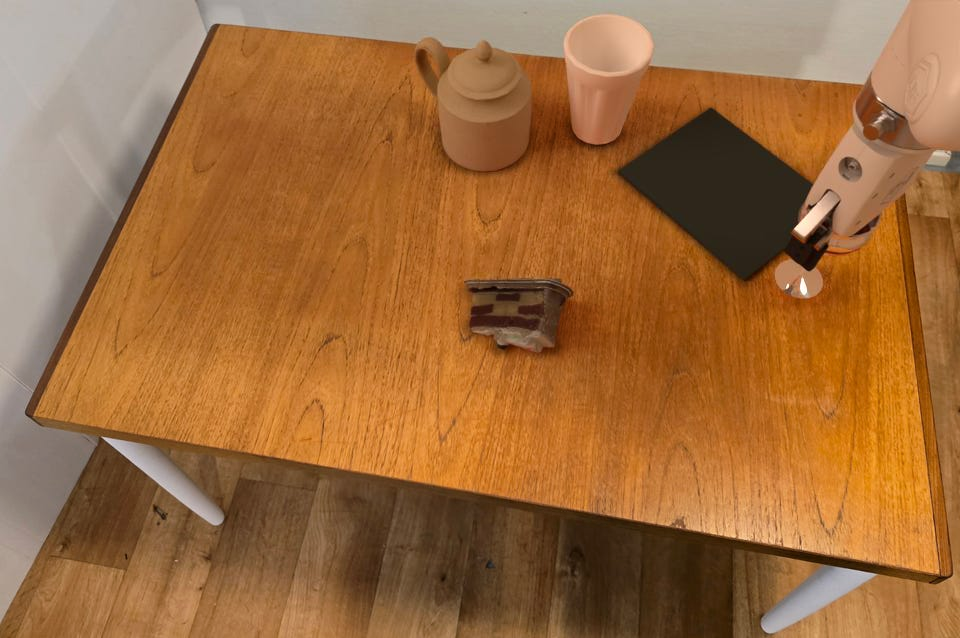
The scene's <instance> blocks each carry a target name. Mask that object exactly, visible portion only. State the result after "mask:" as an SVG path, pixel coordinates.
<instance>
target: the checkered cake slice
mask: <svg viewBox="0 0 960 638" xmlns="http://www.w3.org/2000/svg"><path fill="white" fill-rule="evenodd" d="M462 283H463V284H465V288H466V290H467V292H469V293H471V294H472V298H471V302H472V306H471V308H470V314H469V318H470V319H469V324H468V325H469V329H470V330H471V331H472V333H476V334H479V335H485V336H487V337H490V336H493V340H494V341H496V343H497V348H498V349H499V350H506V348H508V346H509V345H513V346H515V347H519V348H521V349H524V350H527V351H530V352H534V353H537V354H538V353H541V352H542V351H543V348H554V347H555V346H556V340H557V331H558V329H559V322H560V317H561V311H562V308H563V307H564V304H565V303H566V302H567V300H568V299H569V298H571V297H573V296H574V292H575V291H574V290H573V289H572V287H570V286H569V285H567V284H565V283H564V282H562V279H561V278H558V277H556V278H553V277H548V278H547V277H546V278H531V277H527V278H524V277H523V278H522V277H521V278H518V277H517V278H489V279H480V278H474V279H470V278H468V279H465V280H463V281H462Z"/></svg>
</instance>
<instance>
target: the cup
mask: <svg viewBox="0 0 960 638" xmlns="http://www.w3.org/2000/svg"><path fill="white" fill-rule="evenodd" d="M654 43H655V42H654V40H653V36H652V34H651V33H650V32H649V31H648V30H647V29H646V28H645V27H644V26H643V25H642V24H641V23H640V22H638V21H636V20H634V19H632V18H629V17H627V16H622V15H617V14H613V13H606V14H593V15H590V16H588V17H586V18H583V19H581V20H578V21H577V22H576V23H575V24H574V25H573V26H571V27H570V28H569V29H568V30H567V31H566V34H565V37H564V40H563V57H564V61H565V66H566V67H565V68H566V79H567V89H568V99H569V100H568V101H569V111H570V112H569V113H570V121H571V123H570V124H571V129H572V132H573V134H574V135H575V136H576V138H578V139H579V140H581V141H583V142H584V143H586V144H591V145H595V146H597V145H605V144H608V143H611V142H613V141H615V140H617V138H618V137H619V136H620V135H621V133H622V129H623V127H624V124H625V123H626V119H627V117H628V114H629V112H630V109H631V107H632V104H633V102H634V99H635V96H636V94H637V91H638V88H639V86H640V83H641V81H642V78H643V77H644V75H645V73H646V72H648V69H649V66H650V64H651V61H652V58H653V55H654V52H655V47H656V46H655V44H654Z"/></svg>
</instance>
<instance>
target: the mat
mask: <svg viewBox="0 0 960 638" xmlns="http://www.w3.org/2000/svg"><path fill="white" fill-rule="evenodd" d="M617 174H619V176H621V178H623V180H625V181H626V182H628V184H630V185H631V186H632V187H633V188H635V189H636V190H637V191H638V192H639V193H640V194H641V195H642V196H644V198H646V199H647V200H648V201H650V202H651V203H652V204H653V205H654V206H656V207H657V208H658V209H659V210H660V211H662V213H664V214H665V215H666V216H667V217H668V218H669V219H671V220H672V221H673V222H674V223H676V224H677V226H679V227H680V228H681V229H682V230H684V232H686V233H687V234H688V235H689V236H690V237H692V239H694V240H695V241H696V242H697V243H699V244H700V245H701V246H702V247H703V248H705V249H706V250H707V251H708V252H709V253H710V254H711V255H713V256H714V257H715V258H716V259H718V261H720V263H722V264H723V265H724V266H726V267H727V268H728V269H729V270H730V271H731V272H733V273H734V274H735V275H736V276H737V277H738V278H739V279H741V280H742V281H743V282H745V281H746V280H748V279H749V278H751V277H752V276H753V275H755V273H757V272H758V271H759V270H761V269H763V267H764V266H766V265H767V264H768V263H769V262H771V261H772V260H773V259H775V258H776V257H778V255H780V254H781V253H783V252H784V250H785V248H786V246H787V244H788V243H789V241H790V239H791V237H792V236H793V235H792V234H791V232H792V231H793V229H794V228H795V227H796V226H797V215H798V212H799V210H800V208H801V206H802V204H803V203H804V202H805V201H806V199H807V196H808V194H809V192H810V190H811V188H812V186H813V185H814V183H813V182H811V181H809V179H807V178H805V177H804V175H802V174H800V173H799V172H798V171H796V170H795V169H794V168H793V167H791V166H790V165H788V164H787V163H785V161H783V160H782V159H780V158H779V157H778V156H776V154H774V153H772V152H771V151H770V150H768V149H767V148H766V147H765V146H763V145H762V144H761V143H759V142H758V141H757V140H755V139H754V138H752V137H751V136H750V135H748V133H746V132H744V131H743V130H742V129H741V128H740V127H738V126H736V125H735V124H734V123H732V122H731V121H730V120H728V119H727V118H726V117H725V116H724V115H722V114H720V113H719V112H718V111H717V110H715V109H714V108H713V107H709V108H708V109H706V110H705V111H703V112H702V113H700V114H699V115H697V116H695V118H693V119H691V120H690V121H688V122H687V123H686V124H683V126H680V128H677V130H675V131H674V132H672V133H671V134H670V135H668V136H666V137H665V138H663V139H662V140H660V141H659V142H657V143H656V144H655V145H653V146H651V147H650V148H648V150H646V151H644V152H643V153H642V154H640V155H639V156H637V157H635V158H634V159H633V160H631V161H630V162H628V163H627V164H625V165H623V166H622V167H620V168H619V169H618V170H617Z"/></svg>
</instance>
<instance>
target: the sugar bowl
mask: <svg viewBox="0 0 960 638" xmlns="http://www.w3.org/2000/svg"><path fill="white" fill-rule="evenodd" d="M428 54H429V55H430V56H431V58H432V59H433V61H434V63H435V66H436V69H437V72H438V75H437V74H436V72H435V70H434V69H433V67H432V64H431V62H430V59H429V55H428ZM413 59H414V62H415V66H416V70H417V72H418V74H419V76H420V79H421V80H422V81H423V84H424V85H425V87H426V88H427V89H428V91H429V92H430V94H431V96H433V97H434V99H435V100H436V101H437V107H438V108H437V109H438V120H439V127H440V136H441V142H442V147H443V150H444V151H445V153H446V155H447V156H448V157H449V159H450V160H452V161H453V162H454V163H455V164H457V165H458V166H459V167H461V168H462V167H463V168H465V169H467V170H471V171H475V172H485V173H487V172H495V171H499V170H503V169H505V168H508V167H510V166H511V165H513V164H514V163H516V162H517V161H518V160H520V158H521V157H522V156H523V155H524V154H525V153H526V150H527V148H528V146H529V141H530V131H531V121H532V120H531V119H532V106H533V105H532V104H533V102H532V101H533V100H532V99H533V96H532V95H533V87H532V81H531V78H530V76H529V74H528V72H526V71H525V69H524V68H523V67H521V64H520V62H519V61H518V59H517V58H516V57H515V56H514V55H512V54H511V53H510V52H507V51H506V50H504V49H500V48H497V47H492V45H491V44H490V43H489V42H488V41H487V40H484V39H483V40H480V41H479V42H478V43H477V44H476V47H473V48H469V49H467V50H465V51H463V52H461V53H459V54H457V55H456V56H455V57H454V58H453V59H452V61H451V60H450V56H449V54H448V51H447V49H446V48H445V47H444V44H442V43H441V42H440V40H438V39H436V38H435V37H432V36H430V37H429V36H428V37H423V38H422V39H420V40H419V41H418V42H417V44H416V45H415V47H414V51H413Z"/></svg>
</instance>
